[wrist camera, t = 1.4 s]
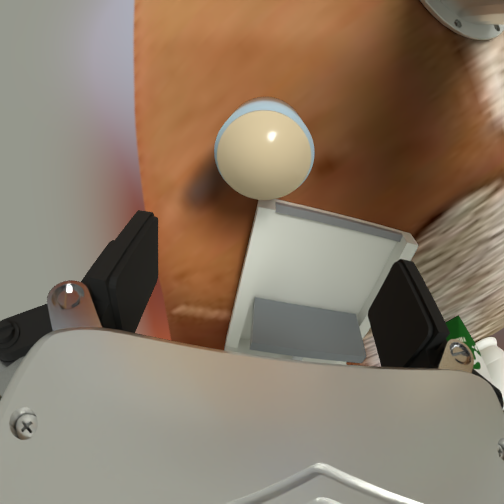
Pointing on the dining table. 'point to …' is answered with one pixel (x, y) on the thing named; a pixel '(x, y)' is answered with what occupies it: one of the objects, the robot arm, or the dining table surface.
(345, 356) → the pusher
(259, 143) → the glazed jar
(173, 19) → the dining table surface
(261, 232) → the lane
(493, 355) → the jar
